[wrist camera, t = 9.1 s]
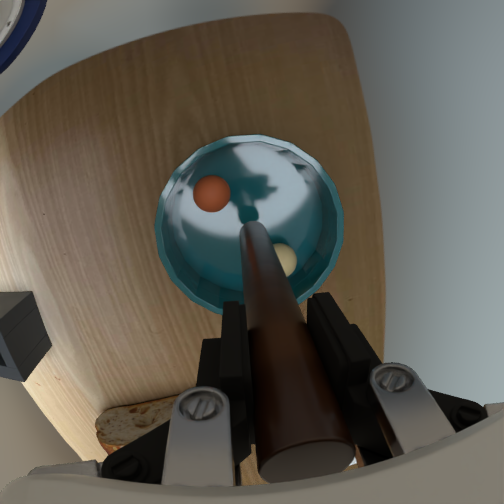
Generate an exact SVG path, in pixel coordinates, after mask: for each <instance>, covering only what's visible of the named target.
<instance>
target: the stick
mask: <svg viewBox="0 0 504 504" xmlns="http://www.w3.org/2000/svg"><path fill="white" fill-rule="evenodd" d="M239 235H240V250H241V265H242V280H243V294H244V304H245V306H246V317H247V329H248V341H249V353H250V365H251V376H252V388H253V399H254V414H253V423H254V435H255V446H256V457H257V469H258V473H259V475H260V477H261V478H262V479H263V480H265V481H266V482H268V483H270V484H272V483H281V482H289V481H296V480H303V479H309V478H315V477H320V476H326V475H331V474H335V473H340V472H342V471H343V470H345V469H346V468H347V467H348V466H349V465H350V464H351V463H352V461H353V460H354V458H355V455H356V447H355V444H354V442H353V439H352V437H351V434H350V431H349V429H348V426H347V424H346V421H345V419H344V416H343V413H342V411H341V408H340V406H339V403H338V401H337V398H336V396H335V393H334V391H333V388H332V386H331V383H330V381H329V378H328V376H327V373H326V371H325V368H324V366H323V363H322V361H321V358H320V356H319V353H318V351H317V348H316V346H315V344H314V341H313V339H312V336H311V334H310V331H309V329H308V327H307V324H306V322H305V319H304V317H303V315H302V312H301V310H300V307H299V305H298V303H297V300H296V298H295V295H294V293H293V291H292V288H291V286H290V284H289V281H288V279H287V277H286V274H285V272H284V270H283V267H282V265H281V262H280V260H279V258H278V256H277V253H276V251H275V249H274V246H273V244H272V242H271V239H270V237H269V235H268V232H267V230H266V228H265V226H264V225H263V224H262V223H260V222H257V221H249V222H247V223H245V224H244V225H243V226H242V228H241V229H240V234H239Z"/></svg>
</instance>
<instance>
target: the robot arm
mask: <svg viewBox="0 0 504 504" xmlns="http://www.w3.org/2000/svg"><path fill="white" fill-rule="evenodd" d="M24 4H25V0H0V48H1V47H2V45H3V44H4V43H5V42H6V40H7V39H8V38H9V36H10V35H11V33H12V31H13V30H14V28H15V26H16V25H17V23H18V21H19V19H20V16H21V14H22V11H23V8H24ZM307 327H308V329H309V331H310V334H311V336H312V339H313V341H314V344H315V346H316V348H317V351H318V353H319V356H320V358H321V361H322V363H323V366H324V368H325V371H326V373H327V376H328V378H329V381H330V383H331V386H332V388H333V391H334V393H335V396H336V398H337V401H338V403H339V406H340V408H341V411H342V413H343V416H344V419H345V421H346V424H347V426H348V429H349V431H350V434H351V437H352V439H353V442H354V444H355V447H356V455H355V459H356V462H357V465H358V468H357V469H353V470H348V471H344V472H340V473H335V474H331V475H326V476H320V477H315V478H309V479H303V480H296V481H289V482H281V483H272V484H262V485H249V486H242V473H241V464H240V463H241V462H242V461H243V460H244V459H245V458H247V457H248V456H249V455H250V454H251V444H255V435H254V423H253V414H254V399H253V388H252V376H251V365H250V353H249V341H248V329H247V317H246V306H245V304H240V305H239V301H226V302H223V315H222V332H221V338H212V339H203V342H202V348H201V355H200V362H199V369H198V376H197V384H196V387H193V388H191V389H188V390H186V391H184V392H182V393H181V394H180V395H179V396H178V397H177V398H176V399H175V401H174V404H173V408H172V414H171V419H169V420H168V421H166V422H164V423H163V424H161V425H160V426H158V427H156V428H155V429H153V430H151V431H150V432H148V433H146V434H144V435H143V436H141V437H139V438H137V439H136V440H134V441H132V442H130V443H129V444H127V445H125V446H123V447H121V448H120V449H118V450H116V451H114V452H113V453H111V454H110V455H108V456H107V457H106V459H105V460H104V461H103V462H100V463H98V462H97V461H96V460H89V461H82V462H76V463H67V464H57V465H47V466H40V467H36V468H34V469H33V470H31V471H30V472H29V474H28V475H27V476H24V477H20V478H17V479H15V480H13V481H11V482H10V483H9V484H7V485H6V486H5V487H4V488H3V490H2V491H1V492H0V504H504V402H503V403H493V404H485V405H484V407H482V406H481V405H479V404H478V403H476V402H473V401H470V400H466V399H462V398H458V397H454V396H451V395H447V394H443V393H439V392H436V391H432V390H429V389H427V388H426V386H425V385H424V383H423V382H422V381H421V379H420V378H419V376H418V375H417V373H416V372H415V371H414V370H413V369H412V368H410V367H408V366H407V365H404V364H400V363H393V362H391V363H384V364H382V362H381V361H380V359H379V358H378V356H377V355H376V353H375V352H374V350H373V349H372V347H371V346H370V344H369V343H368V341H367V340H366V338H365V337H364V335H363V334H362V332H361V331H360V329H359V328H358V326H357V325H356V324H349V322H348V320H347V319H346V317H345V316H344V314H343V313H342V311H341V310H340V308H339V307H338V305H337V304H336V302H335V300H334V299H333V297H332V296H331V294H330V293H329V292H325V293H315V294H313V296H312V298H308V300H307Z"/></svg>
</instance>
